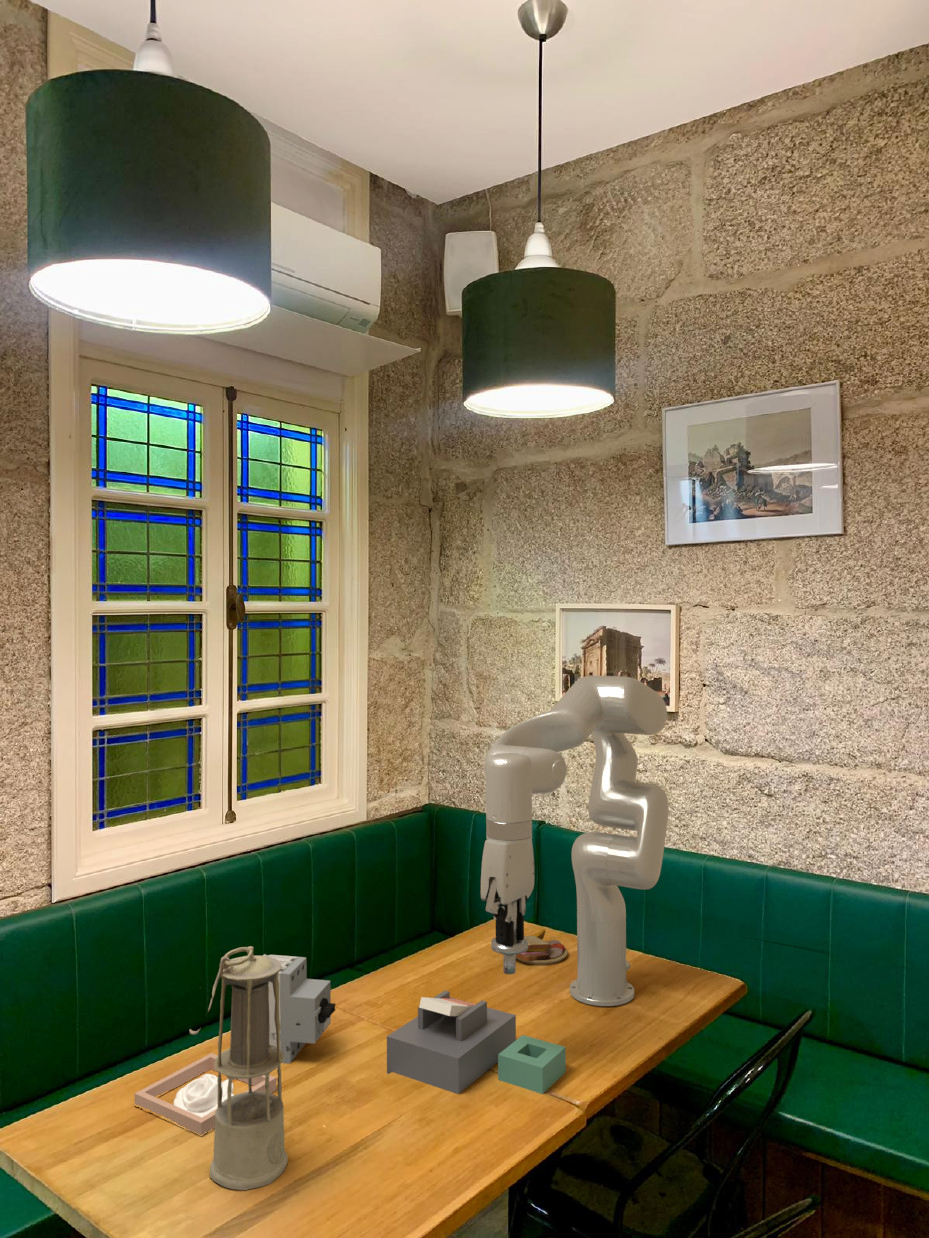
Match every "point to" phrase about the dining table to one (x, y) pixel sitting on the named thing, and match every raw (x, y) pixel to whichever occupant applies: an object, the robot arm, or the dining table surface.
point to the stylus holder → (532, 1064)
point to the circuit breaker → (298, 1007)
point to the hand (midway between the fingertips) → (509, 940)
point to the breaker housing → (450, 1045)
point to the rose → (201, 1095)
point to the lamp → (248, 1077)
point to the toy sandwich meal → (542, 950)
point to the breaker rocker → (445, 1005)
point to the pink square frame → (169, 1111)
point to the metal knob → (510, 951)
